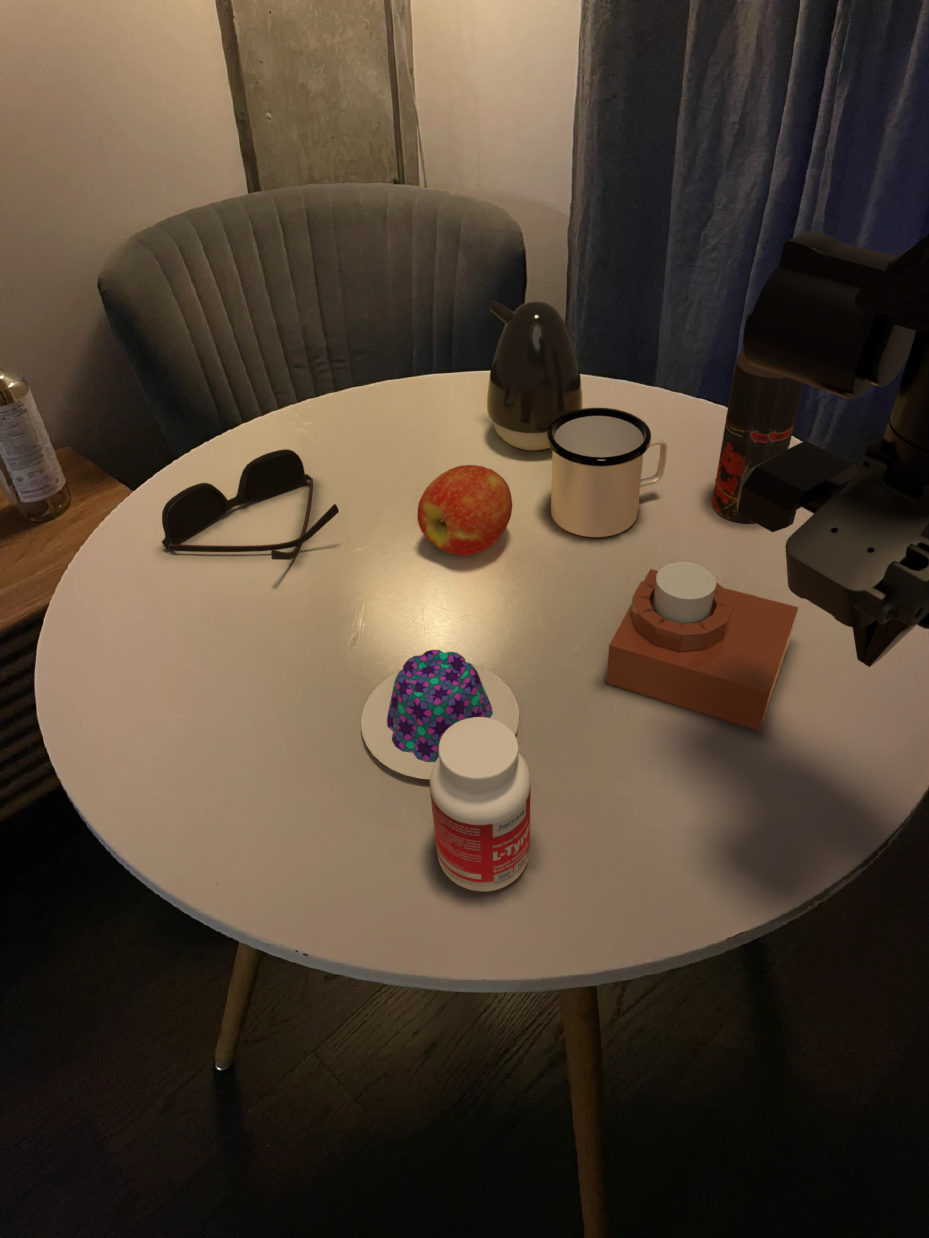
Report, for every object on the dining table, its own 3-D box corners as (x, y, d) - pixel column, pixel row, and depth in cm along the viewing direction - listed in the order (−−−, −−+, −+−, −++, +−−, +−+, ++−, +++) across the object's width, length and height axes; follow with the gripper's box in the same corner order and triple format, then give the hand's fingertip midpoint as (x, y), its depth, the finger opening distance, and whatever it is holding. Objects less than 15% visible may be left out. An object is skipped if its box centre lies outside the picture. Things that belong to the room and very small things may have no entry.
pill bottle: (503, 910, 56) (499, 805, 48) (420, 870, 58) (405, 764, 51) (545, 836, 60) (549, 728, 52) (466, 801, 62) (458, 693, 55)
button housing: (788, 645, 72) (803, 589, 68) (759, 731, 66) (774, 674, 62) (645, 606, 76) (652, 551, 72) (605, 683, 70) (610, 627, 66)
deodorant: (781, 522, 84) (815, 377, 74) (718, 524, 85) (744, 379, 75) (767, 487, 89) (797, 346, 79) (706, 489, 89) (729, 348, 79)
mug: (570, 552, 82) (574, 469, 76) (530, 499, 89) (530, 419, 83) (684, 522, 85) (696, 439, 79) (636, 473, 92) (644, 393, 86)
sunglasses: (233, 615, 78) (221, 571, 75) (158, 544, 86) (143, 501, 83) (384, 534, 86) (379, 491, 83) (302, 476, 94) (294, 435, 91)
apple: (408, 548, 84) (400, 477, 79) (467, 508, 88) (463, 438, 83) (471, 582, 80) (467, 509, 75) (529, 538, 84) (530, 466, 79)
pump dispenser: (517, 406, 103) (516, 276, 93) (597, 429, 99) (605, 294, 88) (468, 446, 97) (461, 311, 87) (550, 472, 93) (554, 333, 82)
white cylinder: (718, 595, 69) (722, 570, 67) (702, 631, 66) (707, 605, 64) (662, 581, 70) (666, 555, 69) (645, 615, 67) (648, 589, 66)
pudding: (483, 806, 62) (481, 759, 58) (333, 758, 66) (322, 710, 62) (541, 688, 70) (542, 640, 66) (404, 651, 74) (398, 604, 70)
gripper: (687, 409, 44) (656, 635, 55) (1062, 598, 33) (932, 838, 43) (828, 343, 49) (775, 564, 60) (1200, 489, 38) (1053, 730, 48)
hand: (868, 660), depth 53 cm, fingers closed
